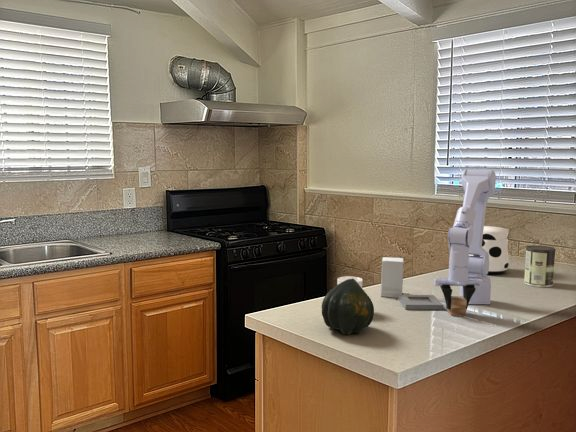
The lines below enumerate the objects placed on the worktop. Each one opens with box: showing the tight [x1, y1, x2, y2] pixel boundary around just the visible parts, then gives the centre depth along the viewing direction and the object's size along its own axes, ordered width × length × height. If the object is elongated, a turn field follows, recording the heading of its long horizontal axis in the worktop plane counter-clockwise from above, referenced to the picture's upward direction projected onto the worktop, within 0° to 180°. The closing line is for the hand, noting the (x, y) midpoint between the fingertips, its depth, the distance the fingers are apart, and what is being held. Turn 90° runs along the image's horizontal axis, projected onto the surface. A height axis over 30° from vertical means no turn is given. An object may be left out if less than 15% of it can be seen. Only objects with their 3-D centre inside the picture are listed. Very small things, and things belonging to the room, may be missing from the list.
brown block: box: [446, 295, 467, 317], centre depth 178 cm, size 4×4×5 cm
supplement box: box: [380, 256, 405, 299], centre depth 199 cm, size 7×7×13 cm
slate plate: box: [397, 294, 444, 311], centre depth 188 cm, size 12×12×2 cm
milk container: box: [469, 225, 510, 274], centre depth 237 cm, size 17×17×18 cm
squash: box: [321, 278, 375, 336], centre depth 161 cm, size 14×15×15 cm
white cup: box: [336, 275, 364, 289], centre depth 180 cm, size 8×8×10 cm
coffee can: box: [523, 244, 557, 288], centre depth 216 cm, size 10×10×14 cm
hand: (456, 308), depth 178 cm, fingers closed on brown block, 4 cm apart
